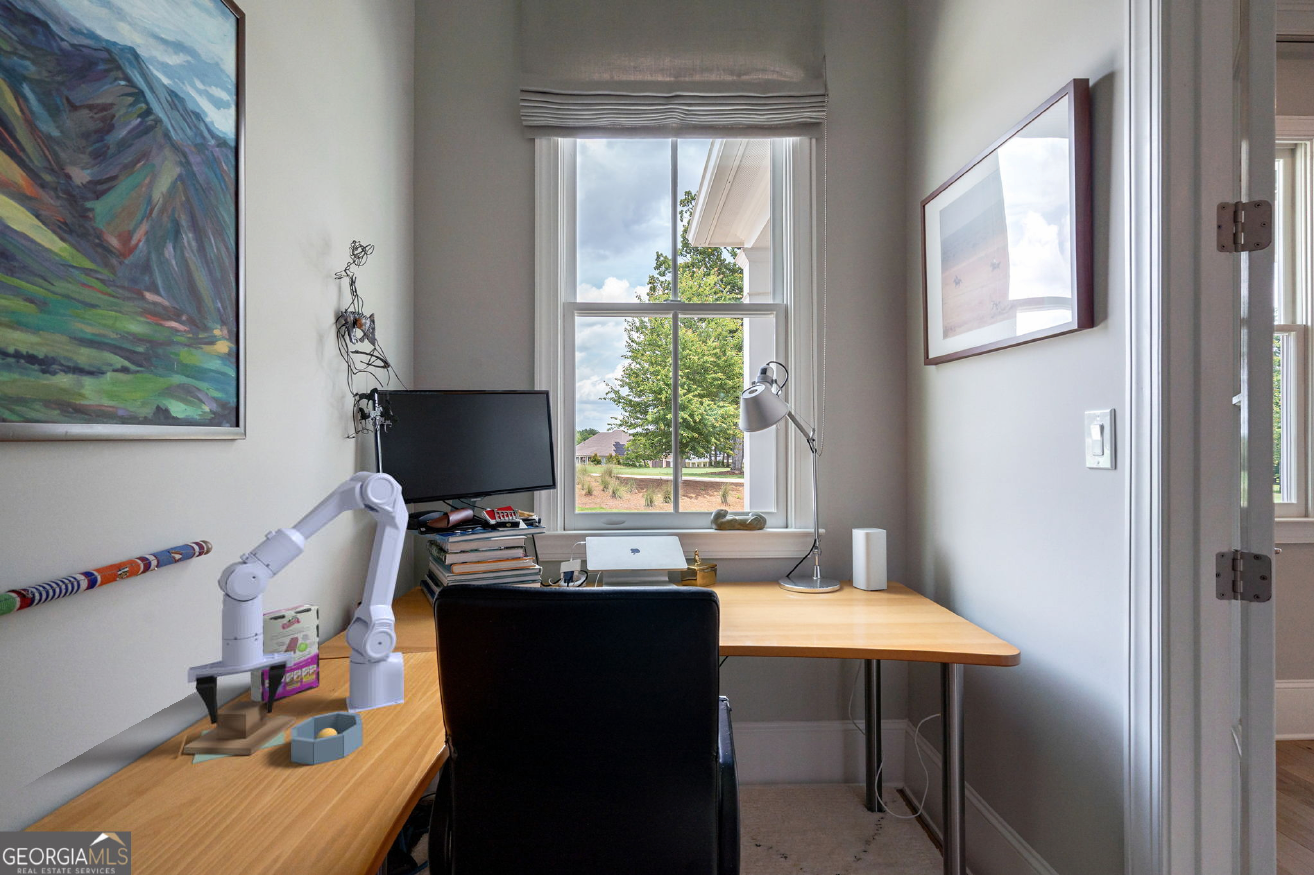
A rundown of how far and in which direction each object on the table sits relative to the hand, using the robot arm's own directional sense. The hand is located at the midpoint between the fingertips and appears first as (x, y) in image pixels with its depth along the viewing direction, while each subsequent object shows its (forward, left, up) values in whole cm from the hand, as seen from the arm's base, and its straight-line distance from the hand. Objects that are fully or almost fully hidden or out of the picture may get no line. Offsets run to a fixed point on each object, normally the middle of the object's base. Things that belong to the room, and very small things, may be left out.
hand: (242, 716), depth 102 cm
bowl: (-12, +11, -4) cm, 17 cm away
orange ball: (-12, +11, -4) cm, 17 cm away
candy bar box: (-6, -19, -4) cm, 20 cm away
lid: (0, 0, -3) cm, 3 cm away
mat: (0, 0, -4) cm, 4 cm away
